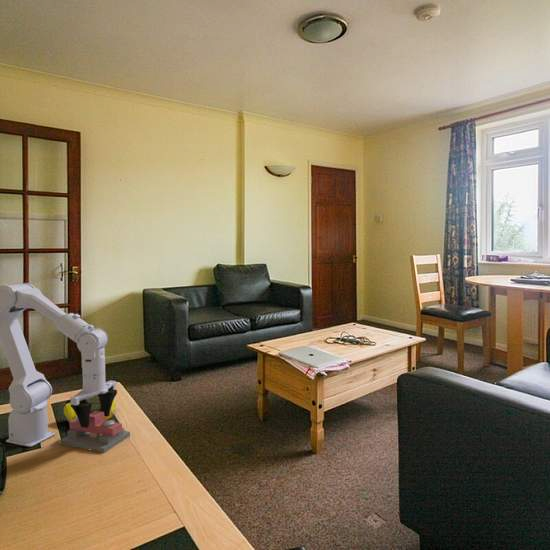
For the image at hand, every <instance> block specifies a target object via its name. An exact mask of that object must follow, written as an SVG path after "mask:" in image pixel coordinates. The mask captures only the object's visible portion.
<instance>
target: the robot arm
mask: <svg viewBox="0 0 550 550" xmlns="http://www.w3.org/2000/svg"><path fill="white" fill-rule="evenodd" d="M26 309H33V310H35V312H38V313H40V314H41V315H42V316H45V317H46V318H48V319H49V320H50V321H52V322H54V323H56V327H57V330H58V331H59V332H60V333H62V334H63V335H65V336H66V337H67V338H69V339H70V340H72V341H73V342H74V343H76V346H77V349H78V351H79V352H80V355H81V362H82V363H81V364H82V369H81V370H82V389H81V390H80V391H79V392H77V393H76V394H75V395H73V396H70V399H69V400H70V402H69V403H70V404H71V407H72V408H73V410H74V411H75V413H76V415H77V417H78V419H79V422H80V425H81V427H84V428H87V427H89V415H90V410H92V409H91V408H92V406H93V403H92V402H88V400H89V399H91V398H94V397H96V396H97V395H98V400H99V404H100V405H99V406H100V408H101V412H104V416H107V417H108V416H109V414H110V410H111V406H112V403H113V400H115V398H116V396H117V394H118V390H117V389H116V388H117V381H116V380H108V381H106V356H105V355H106V348H105V346H106V345H107V344H108V342H109V337H108V336H109V335H108V334H107V332H106V331H105V329H103V328H101V327H96V328H95V326H94V325H93V324H89V323H88V322H86V321H85V320H84V319H82V318H81V315H80V314H79V313H74V312H69V313H66V312H64V311H63V310H62V309H61V308H60V307H59V306H57V305H56V304H55V303H53V301H51V300H50V299H49V298H47V297H46V296H45V295H43V293H42V291H41V290H40V288H37V287H35V286H34V285H33V284H31V283H29V282H24V283H18V284H9V285H8V284H7V285H5V284H3V285H0V344H1V346H2V350H3V352H4V356H5V358H6V362H7V364H8V367H9V370H10V372H11V375H12V378H13V379H12V382H11V384H10V385H9V387H8V392H9V405H10V407H11V409H12V410H11V411H10V413H9V415H8V420H7V421H8V422H7V423H8V439H6V440H5V442H6V443H10V444H14V445H19V446H24V447H29V448H31V447H33V446H36V445H38V444H39V443H41V442H44V441H45V440H47V439H49V438H51V437H54V436H55V435H56V432H54V431H48V429H49V428H48V427H49V426H48V424H49V423H48V402H49V399H50V398H51V397H52V395H53V387H52V385H51V384H50V382H49V381H48V380H47V379H46V377H45V374H43V373H42V372H40V371H38V370H37V369H36V367H35V363H34V360H33V359H32V356H31V353H30V350H29V346H28V344H27V341H26V339H25V335H24V332H23V330H22V327H21V325H20V321H19V318H20V317H21V315H22V314H23V313H24V311H25V310H26Z"/></svg>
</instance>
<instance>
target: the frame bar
mask: <svg viewBox="0 0 550 550" xmlns="http://www.w3.org/2000/svg"><path fill="white" fill-rule="evenodd" d="M122 428H123V425H122V423H120V422H116V421H115V420H114V419H108V420H106V421H104V412H101V411H94V412H92V413H90V415H89V427H87V428H84V427H81V425H80V422H79V419H78V418H76V419H74V420H72V421H70V423H69V430H70V429H75V430H81V431H86V432H92V433H98V434H103V435H109V436H114V435H116V434H117V433H119V432H120V431H122Z"/></svg>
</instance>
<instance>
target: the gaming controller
mask: <svg viewBox="0 0 550 550" xmlns="http://www.w3.org/2000/svg"><path fill="white" fill-rule="evenodd" d="M70 403H71V402H68V403H66V404H65V405H64V407H63V416H64V418H65V419H66V421H67V422H68V424H70V421H72V420H74V419H76V418H78V417H77V415H76V413H75V411H74V410H73V408H72V407H71V404H70ZM115 410H116V400H115V399H114V400H113V403H112V406H111V410H110V414H109V416H108V417H107V416H104V421H107V420H111V418H113V416H114V415H115ZM94 411H101V407H100V408H97V409H90V413H92V412H94Z"/></svg>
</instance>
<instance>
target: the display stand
mask: <svg viewBox="0 0 550 550" xmlns="http://www.w3.org/2000/svg"><path fill="white" fill-rule="evenodd" d="M130 436H131V431H128V430H124V427H122V431H120V432H119V433H117V434H116V435H114V436H109V435H103V434H98V433H92V432H86V431H81V430H75V429H70V428H69V429H68V430H67V435H66V436H65V437H64V438H62V439H60V440H59V441H60V442H59V444H60V445H63V446H67V447H71V448H72V447H73V448H77V447H79V448H78V449H82V448H85V449H84V450H87V449H91V450H90V451H92V450H96V451H95V452H97V451H99V453H102V452H105V453H106V452H109V451H110V450H111V449H113V448H114V447H115V445H116V446H117V445H119V444H121V441H122V442H124V441H125V440H126V439H128V438H130ZM127 437H128V438H127ZM124 439H125V440H124ZM118 443H119V444H118ZM112 447H113V448H112ZM109 449H110V450H109Z"/></svg>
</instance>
